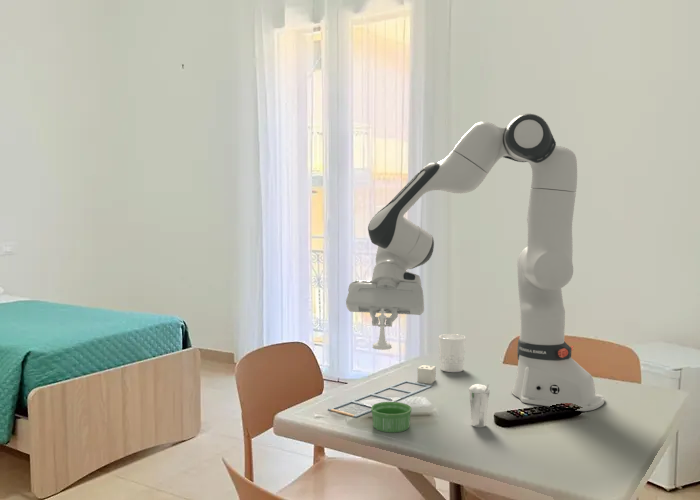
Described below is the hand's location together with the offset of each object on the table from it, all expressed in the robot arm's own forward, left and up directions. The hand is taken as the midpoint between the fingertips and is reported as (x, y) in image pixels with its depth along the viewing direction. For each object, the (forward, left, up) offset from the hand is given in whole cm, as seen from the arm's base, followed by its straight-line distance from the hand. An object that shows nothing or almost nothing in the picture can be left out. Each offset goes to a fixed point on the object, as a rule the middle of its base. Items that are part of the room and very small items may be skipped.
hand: (381, 324), depth 165 cm
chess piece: (0, -1, -6) cm, 6 cm away
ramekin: (-14, +16, -19) cm, 29 cm away
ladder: (0, 0, -19) cm, 19 cm away
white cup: (+1, -36, -19) cm, 41 cm away
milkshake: (-29, +3, -19) cm, 35 cm away
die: (0, -21, -19) cm, 28 cm away
